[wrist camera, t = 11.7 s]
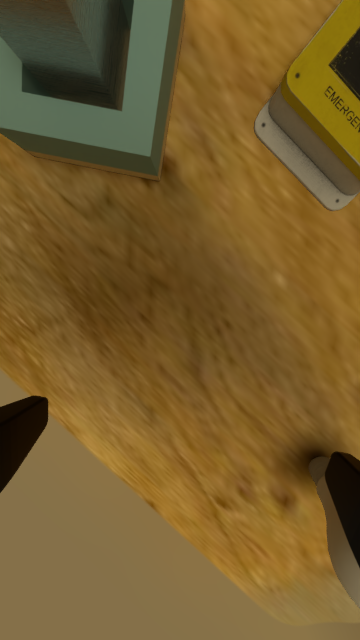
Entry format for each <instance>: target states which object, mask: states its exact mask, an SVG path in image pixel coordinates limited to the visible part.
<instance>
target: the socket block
mask: <svg viewBox="0 0 360 640" xmlns="http://www.w3.org/2000/svg"><path fill="white" fill-rule="evenodd" d="M122 2H123V6H124V10H125V13H126V17H127V21H128V24H129V28H130V32H131V33H130V43H129V52H128V61H127V70H126V79H125V88H124V98H123V107H122V111H118V110H113V109H108V108H102V107H97V106H92V105H87V104H82V103H77V102H72V101H66V100H61V99H56V98H52V97H51V96H50V95H49V94H48V93H47V91H46V90H45V89H44V88H43V87H42V85H41V84H40V83H39V82H38V81H37V79H36V78H35V77H34V76H33V75H32V73H31V72H30V71H29V70H28V69H27V68H26V66H25V65H24V64H23V63H22V62H21V60H20V59H19V58H18V57H17V56H16V54H15V53H14V52H13V51H12V50H11V48H10V47H9V46H8V45H7V44H6V43H5V41H4V40H3V39H2V38H1V37H0V133H1V134H3V135H4V136H5V137H7V138H8V139H10V140H11V141H13V142H14V143H16V144H17V145H19V146H20V147H21V148H23V149H24V150H26V151H27V152H29V153H30V154H32V155H33V156H34V157H39V158H44V159H50V160H55V161H60V162H65V163H70V164H75V165H80V166H85V167H90V168H95V169H100V170H105V171H110V172H115V173H121V174H126V175H131V176H136V177H141V178H146V179H151V180H156V181H160V177H161V171H162V164H163V158H164V151H165V145H166V138H167V132H168V125H169V119H170V112H171V106H172V99H173V92H174V86H175V79H176V73H177V66H178V60H179V53H180V47H181V40H182V34H183V27H184V21H185V0H122Z"/></svg>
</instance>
